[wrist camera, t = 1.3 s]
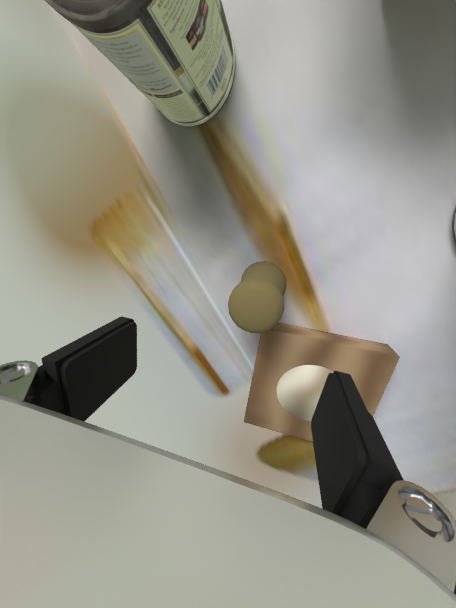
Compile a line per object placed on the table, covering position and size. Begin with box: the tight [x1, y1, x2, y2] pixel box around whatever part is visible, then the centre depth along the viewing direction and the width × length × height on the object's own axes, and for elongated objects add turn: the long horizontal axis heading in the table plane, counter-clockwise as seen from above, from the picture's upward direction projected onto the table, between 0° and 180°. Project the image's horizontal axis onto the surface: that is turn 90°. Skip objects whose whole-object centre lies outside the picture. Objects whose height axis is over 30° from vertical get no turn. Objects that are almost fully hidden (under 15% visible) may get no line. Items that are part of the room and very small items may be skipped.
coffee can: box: [45, 0, 235, 127], centre depth 17 cm, size 10×10×14 cm
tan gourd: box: [228, 261, 286, 333], centre depth 24 cm, size 6×6×11 cm
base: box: [244, 323, 400, 442], centre depth 30 cm, size 16×16×3 cm
